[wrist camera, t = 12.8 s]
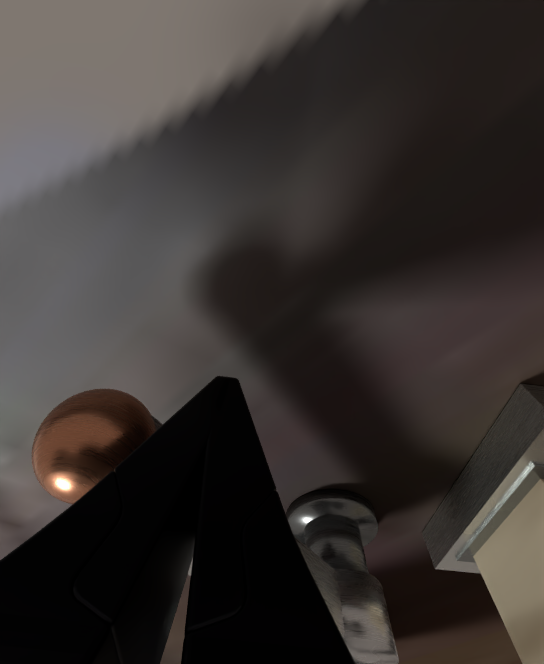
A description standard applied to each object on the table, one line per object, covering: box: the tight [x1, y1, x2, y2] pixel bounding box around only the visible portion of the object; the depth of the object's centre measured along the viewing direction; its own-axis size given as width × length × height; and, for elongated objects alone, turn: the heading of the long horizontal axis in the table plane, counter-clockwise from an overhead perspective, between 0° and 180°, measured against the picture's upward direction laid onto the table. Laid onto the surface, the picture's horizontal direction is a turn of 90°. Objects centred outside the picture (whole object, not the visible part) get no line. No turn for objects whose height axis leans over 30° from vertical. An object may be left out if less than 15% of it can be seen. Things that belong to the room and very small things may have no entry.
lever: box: [32, 389, 399, 664], centre depth 9 cm, size 3×14×2 cm, turn 35°
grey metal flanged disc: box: [286, 490, 378, 573], centre depth 14 cm, size 4×4×2 cm
